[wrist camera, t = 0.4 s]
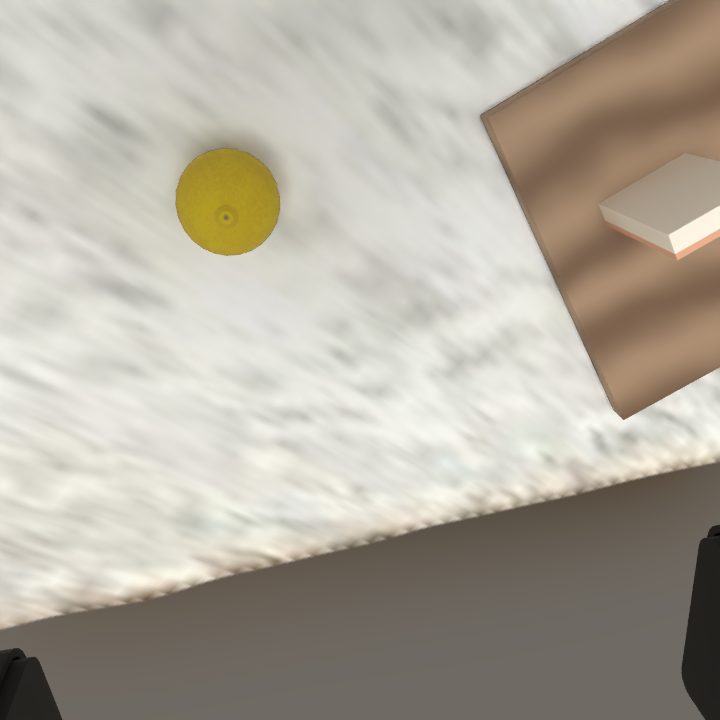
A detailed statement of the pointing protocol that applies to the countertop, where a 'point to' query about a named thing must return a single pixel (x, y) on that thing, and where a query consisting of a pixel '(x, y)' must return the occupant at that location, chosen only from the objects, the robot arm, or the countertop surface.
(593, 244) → the board
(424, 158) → the countertop surface
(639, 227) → the tile
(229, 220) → the lemon
